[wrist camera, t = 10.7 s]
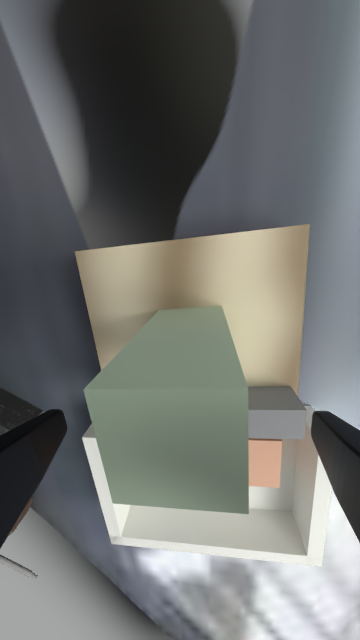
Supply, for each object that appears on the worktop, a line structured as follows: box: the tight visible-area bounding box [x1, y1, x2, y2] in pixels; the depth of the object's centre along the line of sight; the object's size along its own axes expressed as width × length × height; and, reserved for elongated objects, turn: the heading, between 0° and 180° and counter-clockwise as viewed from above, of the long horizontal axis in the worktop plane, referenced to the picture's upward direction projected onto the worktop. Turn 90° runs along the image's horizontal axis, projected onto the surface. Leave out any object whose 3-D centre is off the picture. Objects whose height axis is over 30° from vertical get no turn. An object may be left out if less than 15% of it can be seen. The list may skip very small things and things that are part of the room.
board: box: [75, 224, 310, 396], centre depth 13 cm, size 12×12×2 cm
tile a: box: [248, 438, 282, 488], centre depth 15 cm, size 4×4×2 cm
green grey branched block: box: [84, 306, 307, 514], centre depth 9 cm, size 11×7×8 cm, turn 95°
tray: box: [82, 406, 332, 567], centre depth 16 cm, size 16×11×3 cm
